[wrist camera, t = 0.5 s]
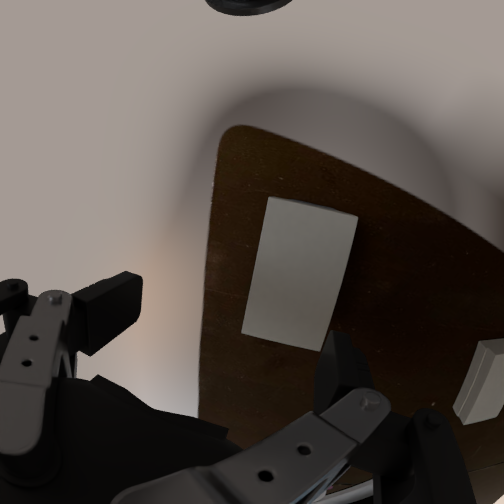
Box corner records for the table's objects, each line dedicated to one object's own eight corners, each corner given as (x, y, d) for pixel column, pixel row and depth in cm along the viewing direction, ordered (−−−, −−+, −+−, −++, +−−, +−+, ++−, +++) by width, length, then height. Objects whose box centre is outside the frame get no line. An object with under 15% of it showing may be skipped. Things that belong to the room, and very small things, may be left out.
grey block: (479, 339, 24) (495, 355, 20) (511, 335, 23) (528, 349, 19) (452, 407, 26) (462, 426, 22) (485, 401, 25) (496, 417, 21)
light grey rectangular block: (273, 196, 21) (268, 196, 19) (352, 214, 20) (358, 217, 18) (248, 319, 23) (241, 333, 21) (319, 335, 22) (319, 351, 20)
